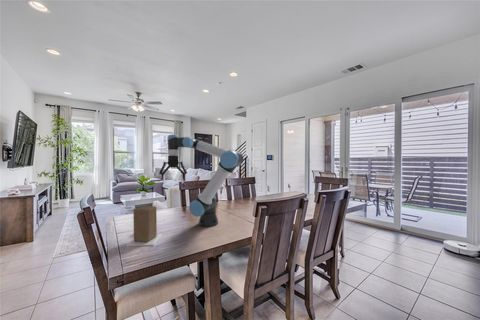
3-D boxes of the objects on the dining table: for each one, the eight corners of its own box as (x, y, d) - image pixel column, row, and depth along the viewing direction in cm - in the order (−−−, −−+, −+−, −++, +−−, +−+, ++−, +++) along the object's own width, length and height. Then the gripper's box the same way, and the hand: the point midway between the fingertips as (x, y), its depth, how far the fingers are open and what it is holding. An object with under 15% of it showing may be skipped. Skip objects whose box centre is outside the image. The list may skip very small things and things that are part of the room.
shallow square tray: (162, 235, 137) (162, 233, 137) (154, 245, 121) (154, 244, 121) (137, 235, 136) (137, 234, 136) (126, 246, 120) (126, 244, 120)
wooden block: (147, 242, 123) (147, 209, 122) (133, 241, 125) (132, 209, 124) (157, 236, 133) (157, 205, 132) (143, 235, 134) (143, 205, 134)
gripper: (190, 155, 159) (190, 182, 159) (157, 155, 157) (158, 182, 158) (188, 155, 152) (189, 183, 152) (154, 155, 150) (154, 184, 150)
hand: (173, 183), depth 155 cm, fingers open, 13 cm apart
